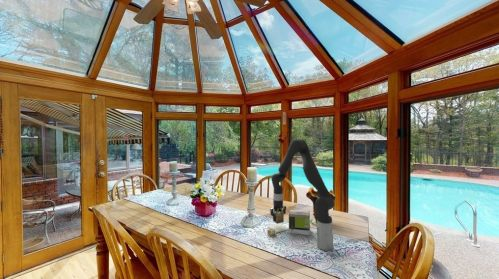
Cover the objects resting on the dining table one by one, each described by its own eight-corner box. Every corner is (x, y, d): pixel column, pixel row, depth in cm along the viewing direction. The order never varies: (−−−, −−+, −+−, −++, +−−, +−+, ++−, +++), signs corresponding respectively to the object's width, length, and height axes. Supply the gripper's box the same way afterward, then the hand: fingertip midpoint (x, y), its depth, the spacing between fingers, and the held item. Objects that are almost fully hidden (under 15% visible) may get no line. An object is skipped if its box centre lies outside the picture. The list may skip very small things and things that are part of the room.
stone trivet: (289, 229, 175) (289, 228, 175) (276, 232, 169) (276, 231, 169) (280, 223, 185) (280, 222, 185) (267, 226, 180) (267, 225, 180)
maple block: (275, 235, 166) (275, 229, 166) (271, 236, 163) (271, 231, 163) (270, 233, 169) (270, 228, 169) (267, 235, 166) (267, 229, 166)
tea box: (310, 230, 173) (310, 210, 173) (309, 235, 164) (309, 215, 163) (290, 227, 178) (290, 209, 177) (288, 233, 168) (288, 213, 167)
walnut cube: (283, 222, 176) (283, 214, 175) (277, 223, 173) (277, 216, 173) (279, 219, 181) (279, 212, 181) (272, 220, 178) (272, 213, 178)
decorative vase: (339, 228, 175) (337, 192, 174) (308, 227, 180) (306, 192, 179) (334, 217, 195) (332, 185, 195) (306, 217, 200) (305, 186, 199)
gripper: (273, 201, 170) (273, 223, 170) (288, 198, 176) (288, 220, 177) (267, 198, 176) (267, 220, 177) (282, 196, 183) (283, 216, 184)
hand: (278, 220), depth 177 cm, fingers closed on walnut cube, 6 cm apart
